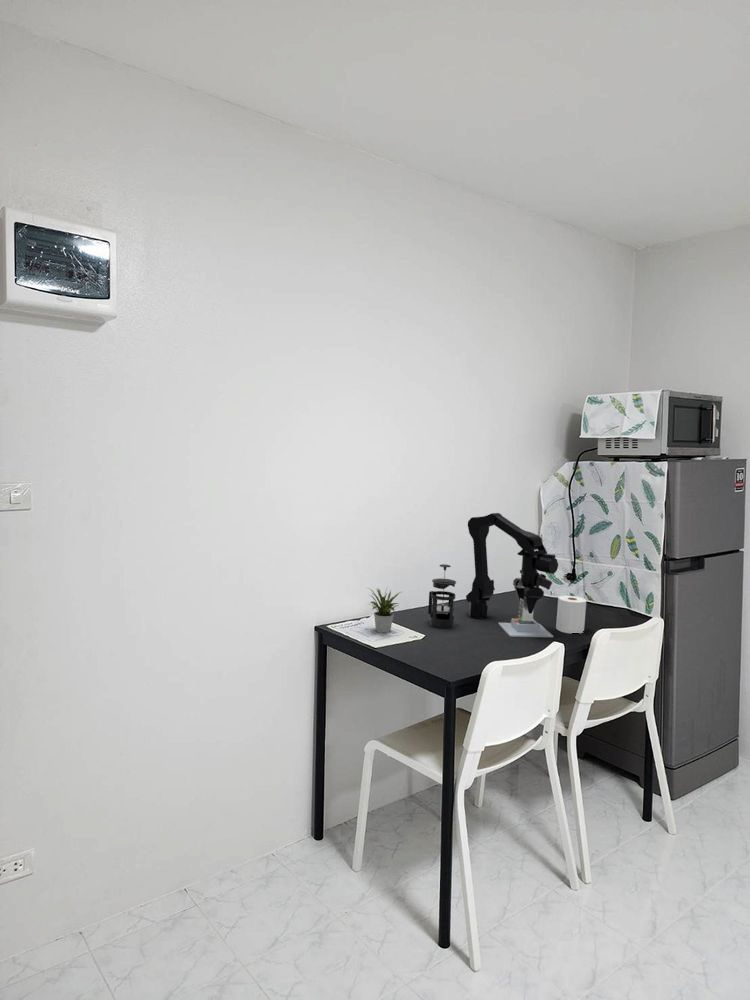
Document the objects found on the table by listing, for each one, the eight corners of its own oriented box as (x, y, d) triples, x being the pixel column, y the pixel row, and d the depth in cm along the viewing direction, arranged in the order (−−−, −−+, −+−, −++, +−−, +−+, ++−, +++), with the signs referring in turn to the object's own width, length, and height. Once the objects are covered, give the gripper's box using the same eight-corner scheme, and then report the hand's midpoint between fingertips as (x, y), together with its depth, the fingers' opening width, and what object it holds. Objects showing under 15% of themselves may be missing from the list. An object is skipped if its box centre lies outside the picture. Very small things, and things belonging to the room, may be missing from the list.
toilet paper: (585, 635, 261) (588, 603, 260) (556, 632, 263) (559, 600, 262) (582, 627, 271) (585, 596, 270) (554, 625, 273) (557, 594, 272)
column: (520, 620, 261) (521, 600, 260) (517, 617, 265) (518, 598, 264) (532, 621, 261) (534, 601, 261) (529, 618, 265) (530, 598, 265)
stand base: (509, 636, 255) (510, 625, 255) (498, 623, 271) (499, 613, 270) (553, 637, 256) (553, 626, 256) (539, 624, 272) (539, 614, 272)
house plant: (353, 632, 251) (355, 587, 249) (368, 622, 264) (370, 579, 262) (391, 638, 246) (393, 592, 244) (404, 628, 258) (406, 584, 257)
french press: (460, 626, 265) (464, 566, 262) (443, 630, 258) (447, 568, 256) (437, 619, 273) (440, 560, 271) (420, 623, 267) (423, 563, 264)
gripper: (559, 574, 253) (556, 617, 254) (542, 564, 271) (539, 604, 273) (529, 573, 252) (525, 616, 253) (514, 563, 270) (511, 603, 272)
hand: (526, 610), depth 263 cm, fingers open, 9 cm apart
